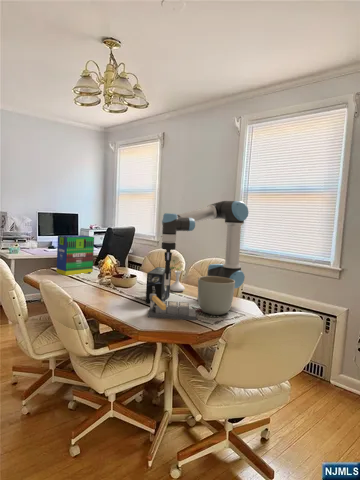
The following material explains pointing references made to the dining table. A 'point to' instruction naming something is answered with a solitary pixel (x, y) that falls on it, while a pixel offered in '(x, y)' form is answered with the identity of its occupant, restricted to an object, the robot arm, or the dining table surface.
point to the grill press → (172, 311)
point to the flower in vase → (177, 285)
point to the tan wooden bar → (157, 301)
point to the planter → (215, 294)
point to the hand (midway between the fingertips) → (166, 284)
